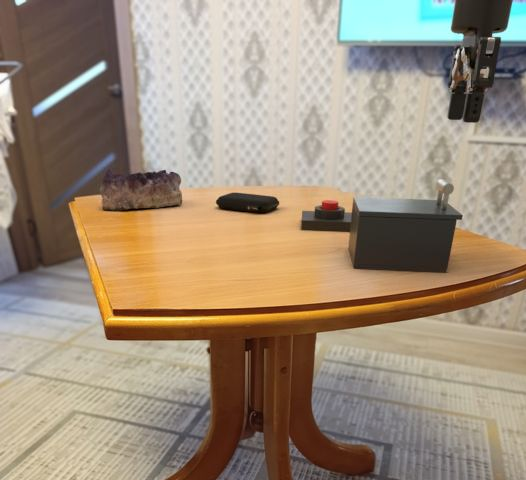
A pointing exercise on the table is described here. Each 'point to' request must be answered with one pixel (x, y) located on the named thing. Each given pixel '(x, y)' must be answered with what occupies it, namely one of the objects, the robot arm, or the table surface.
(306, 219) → the button block
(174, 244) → the table surface
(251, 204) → the carrying case
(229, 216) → the table surface
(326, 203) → the red button
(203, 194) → the table surface
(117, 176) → the geode
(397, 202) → the hinged box lid
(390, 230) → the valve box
